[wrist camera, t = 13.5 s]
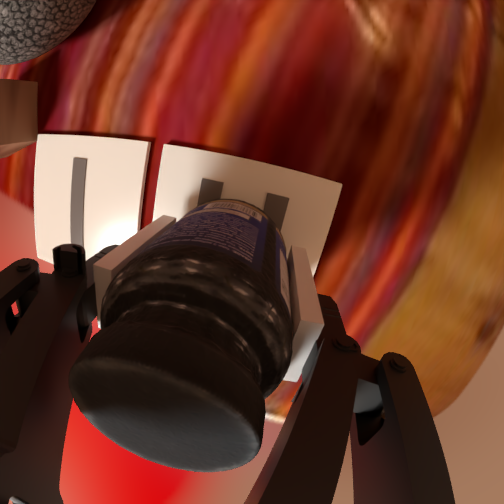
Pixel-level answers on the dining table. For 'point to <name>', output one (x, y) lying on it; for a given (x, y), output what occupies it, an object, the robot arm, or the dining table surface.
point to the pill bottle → (192, 341)
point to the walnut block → (17, 115)
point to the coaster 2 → (249, 193)
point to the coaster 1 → (87, 191)
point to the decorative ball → (37, 26)
